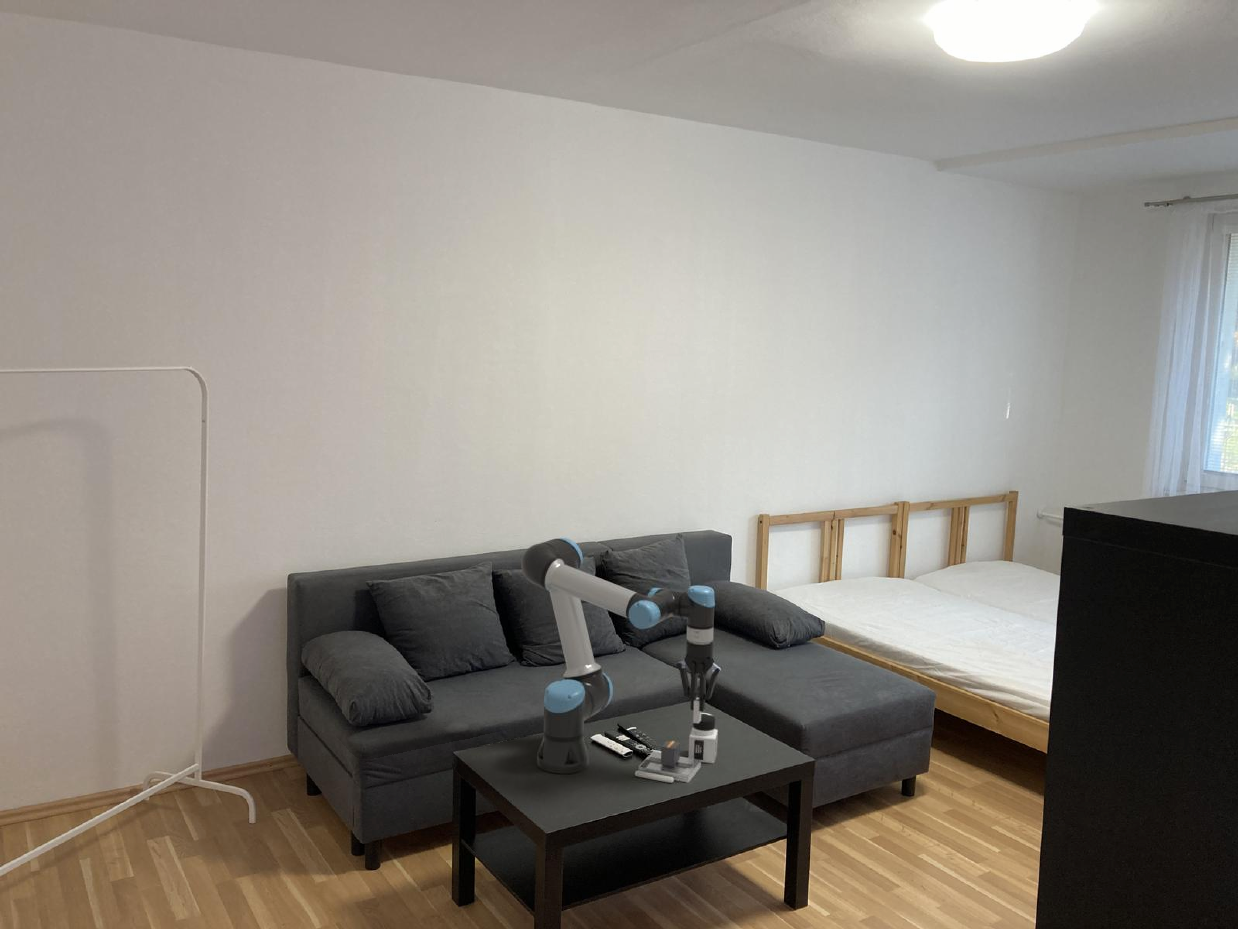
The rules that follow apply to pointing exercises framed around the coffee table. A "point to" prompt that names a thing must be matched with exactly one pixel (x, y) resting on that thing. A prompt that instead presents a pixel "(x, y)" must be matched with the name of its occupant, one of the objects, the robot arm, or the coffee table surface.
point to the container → (704, 739)
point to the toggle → (670, 753)
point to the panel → (671, 767)
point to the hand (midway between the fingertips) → (697, 721)
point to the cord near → (654, 776)
